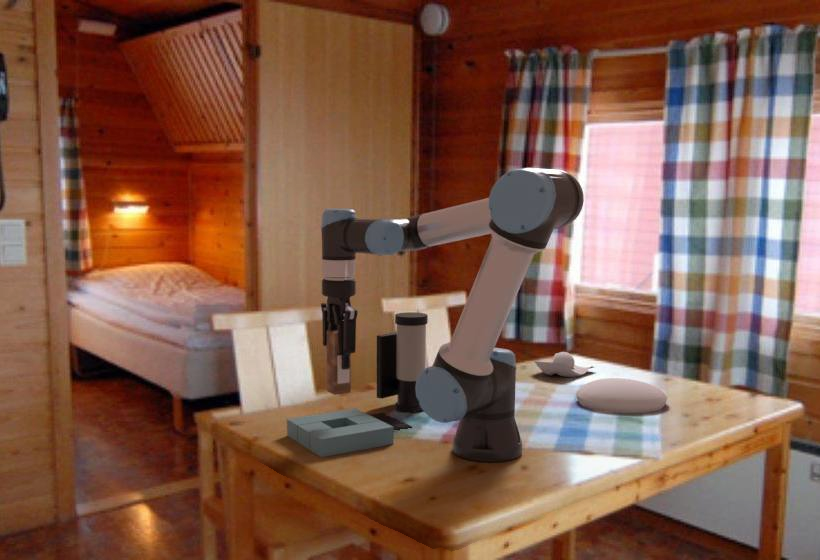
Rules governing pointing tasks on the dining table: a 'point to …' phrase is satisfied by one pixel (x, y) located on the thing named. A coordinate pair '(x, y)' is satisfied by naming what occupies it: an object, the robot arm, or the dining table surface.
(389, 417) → the smartphone
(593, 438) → the dining table surface
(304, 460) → the dining table surface
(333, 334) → the walnut peg
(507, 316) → the robot arm
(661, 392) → the decorative item
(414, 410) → the light fixture
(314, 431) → the socket block
